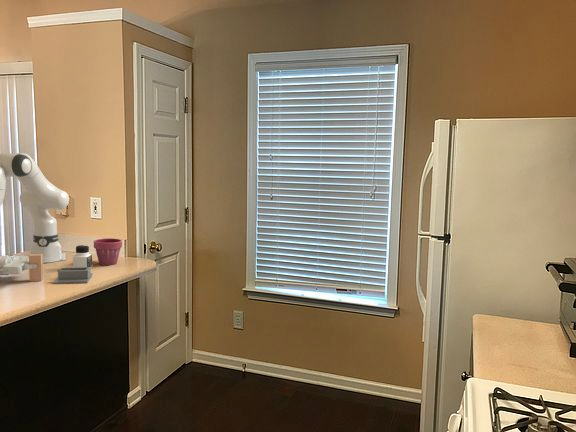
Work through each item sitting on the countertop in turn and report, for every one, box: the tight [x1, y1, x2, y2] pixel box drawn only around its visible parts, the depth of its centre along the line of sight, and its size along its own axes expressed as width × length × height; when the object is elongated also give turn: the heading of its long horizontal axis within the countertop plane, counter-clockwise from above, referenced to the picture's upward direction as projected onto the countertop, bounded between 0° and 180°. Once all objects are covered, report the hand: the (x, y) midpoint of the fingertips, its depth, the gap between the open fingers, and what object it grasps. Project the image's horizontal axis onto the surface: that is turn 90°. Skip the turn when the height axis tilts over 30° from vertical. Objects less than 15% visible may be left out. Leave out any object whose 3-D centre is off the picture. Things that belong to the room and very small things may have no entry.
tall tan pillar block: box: [28, 254, 44, 282], centre depth 210 cm, size 3×5×12 cm, turn 104°
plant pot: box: [93, 237, 123, 266], centre depth 246 cm, size 14×14×13 cm
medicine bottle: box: [72, 244, 93, 268], centre depth 234 cm, size 7×7×12 cm
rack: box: [53, 266, 93, 285], centre depth 214 cm, size 14×14×5 cm
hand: (38, 264), depth 210 cm, fingers closed on tall tan pillar block, 3 cm apart
